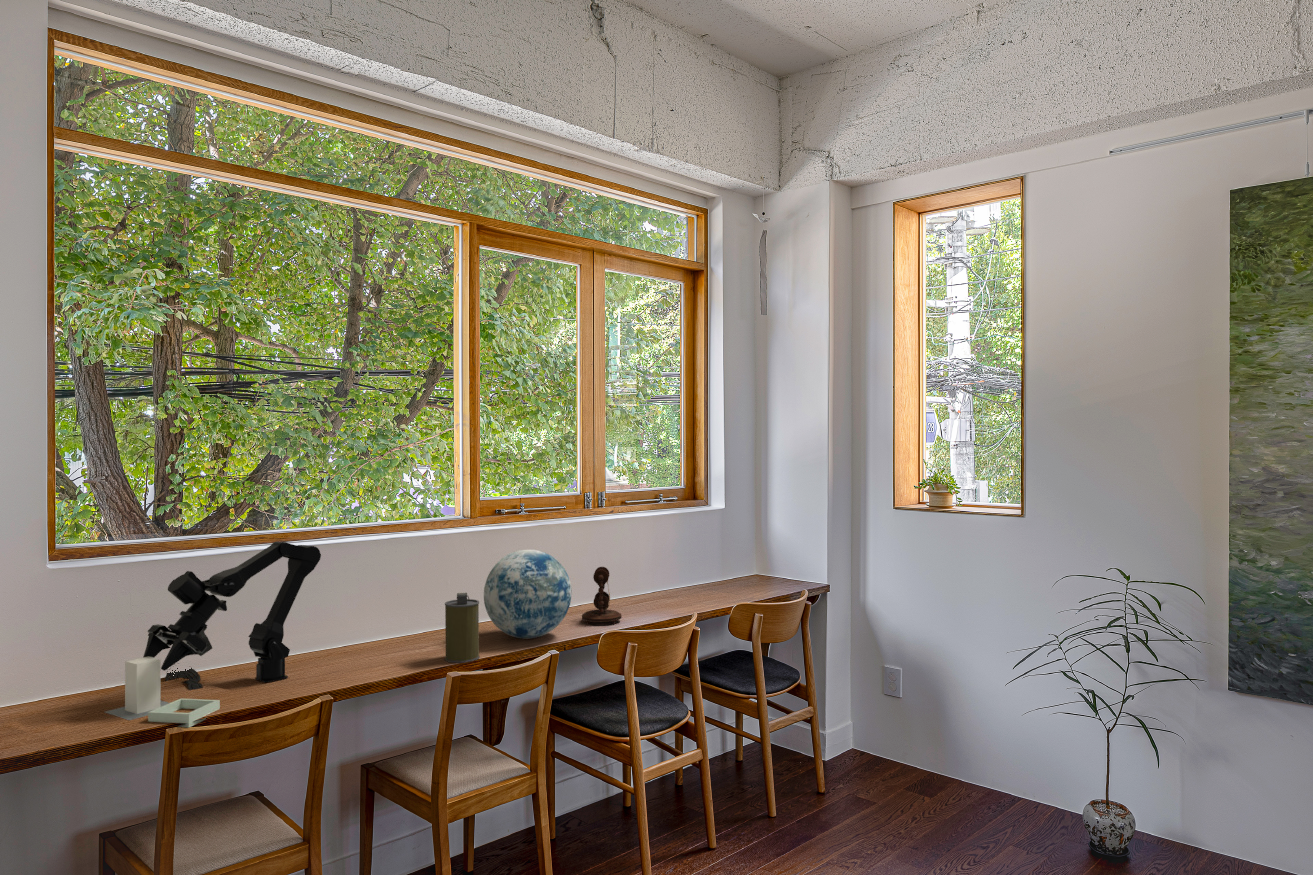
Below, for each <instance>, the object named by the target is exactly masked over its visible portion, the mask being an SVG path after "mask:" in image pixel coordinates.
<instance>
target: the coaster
mask: <svg viewBox="0 0 1313 875" xmlns="http://www.w3.org/2000/svg"><path fill="white" fill-rule="evenodd" d="M169 703H170V702H168V701H165V700H161V699H160V707H162V706H164V705H167V704H169ZM154 710H155V709H154ZM150 711H153V710H150ZM150 711H146V712H143V713H139V714H135V713H132V712H129V711H126V710H125V706H122V707H118V708H113V709H110V710H107V711H104V713H106V714H109V715H111V716H115V717H118V718H121V719H123V720H127V721H132V720H136V719H139V718H143V717H148V712H150Z"/></svg>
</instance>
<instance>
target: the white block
mask: <svg viewBox="0 0 1313 875" xmlns="http://www.w3.org/2000/svg"><path fill="white" fill-rule="evenodd" d="M160 700H161V658H157V657H154V658H153V657H149V656H148V657H139V658H135V659H130V660H126V661H124V707H125V710H126V711H129V712H132V713H135V714H139V713H143V712H146V711H150V710H154V709H157V708H160Z"/></svg>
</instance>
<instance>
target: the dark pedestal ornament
mask: <svg viewBox="0 0 1313 875" xmlns="http://www.w3.org/2000/svg"><path fill="white" fill-rule="evenodd" d="M592 576H593V577H592V579H593V581H594V582H595V583H596V585H597V586H598V587H599V588H598V590H597V592H596V594H595V595H594V599H593V605H594V608H596V609H592V610H591V609H590V610H588V611H585V612H584V613H582V615H581V620H583V621H585V622H586V624H587V625H590V622H591V623H606V622H607V623H609V622H612V624H613V625H615V624H616V621H619V620H620V619H622V613H621V612H619V611H617V610H614V609H609V607H610V603H611V592H610V588H609V586H607V589H608V592H607V591H605V587H606V584H607V585H609V578H610V571H609V569H608V568H607V567H605V566H599V567H597V568H596V569H595V571H594V573H593V575H592Z"/></svg>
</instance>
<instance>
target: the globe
mask: <svg viewBox="0 0 1313 875" xmlns="http://www.w3.org/2000/svg"><path fill="white" fill-rule="evenodd" d="M572 594H573V593H572V584H571V579H570V577H569V575H568V573H567V570H566V568H565V567H564V566H563V565H562V563H560V561H559V560H557V559H556V558H555V557H554V556H552V555H551V554H549V553H546V552H544V551H541V550H537V549H519V550H517V551H513V552H511V553H509V554H507V555H505V556H504V557H502V558H501V559H500V560H499V561H497V562H496V563H495V565H494V566H493V567H492V568H491V570H490V571H489V572H488V576H487V577H486V580H485V583H484V588H483V604H484V608H485V611H486V613H487V616H488V617H489V619H490V620H491V622H492V623H493V624H494V625H495V627H496V628H498V629H499V630H500V631H501V632H503V633H505V634H506V635H508V636H511V637H513V638H517V639H528V640H529V639H535V638H539V637H543V636H545V635H547V634H549V633H550V632H552V631H553V630H555V629H556V628H557V627H558V626H559V625H560V623H562V621H563V620H564V618H566V615H567V613H568V611H569V609H570V606H571V603H572V601H571V600H572Z"/></svg>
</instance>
